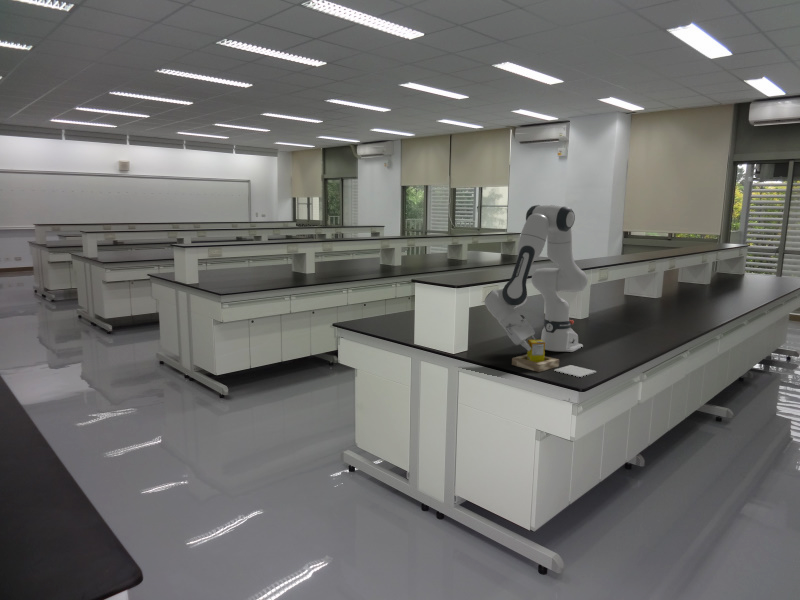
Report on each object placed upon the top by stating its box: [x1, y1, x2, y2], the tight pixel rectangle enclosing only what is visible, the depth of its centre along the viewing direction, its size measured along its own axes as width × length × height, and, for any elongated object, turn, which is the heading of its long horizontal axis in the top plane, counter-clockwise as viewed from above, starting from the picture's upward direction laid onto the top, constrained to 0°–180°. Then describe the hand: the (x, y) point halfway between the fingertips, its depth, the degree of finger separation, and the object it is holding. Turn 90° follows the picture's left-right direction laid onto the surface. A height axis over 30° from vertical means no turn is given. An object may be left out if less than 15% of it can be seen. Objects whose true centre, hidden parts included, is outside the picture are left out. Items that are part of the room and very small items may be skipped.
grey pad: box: [553, 364, 597, 378], centre depth 219 cm, size 12×12×1 cm
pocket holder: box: [511, 353, 560, 373], centre depth 228 cm, size 14×14×3 cm
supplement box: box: [526, 339, 546, 363], centre depth 227 cm, size 6×6×11 cm
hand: (533, 347), depth 227 cm, fingers open, 8 cm apart
